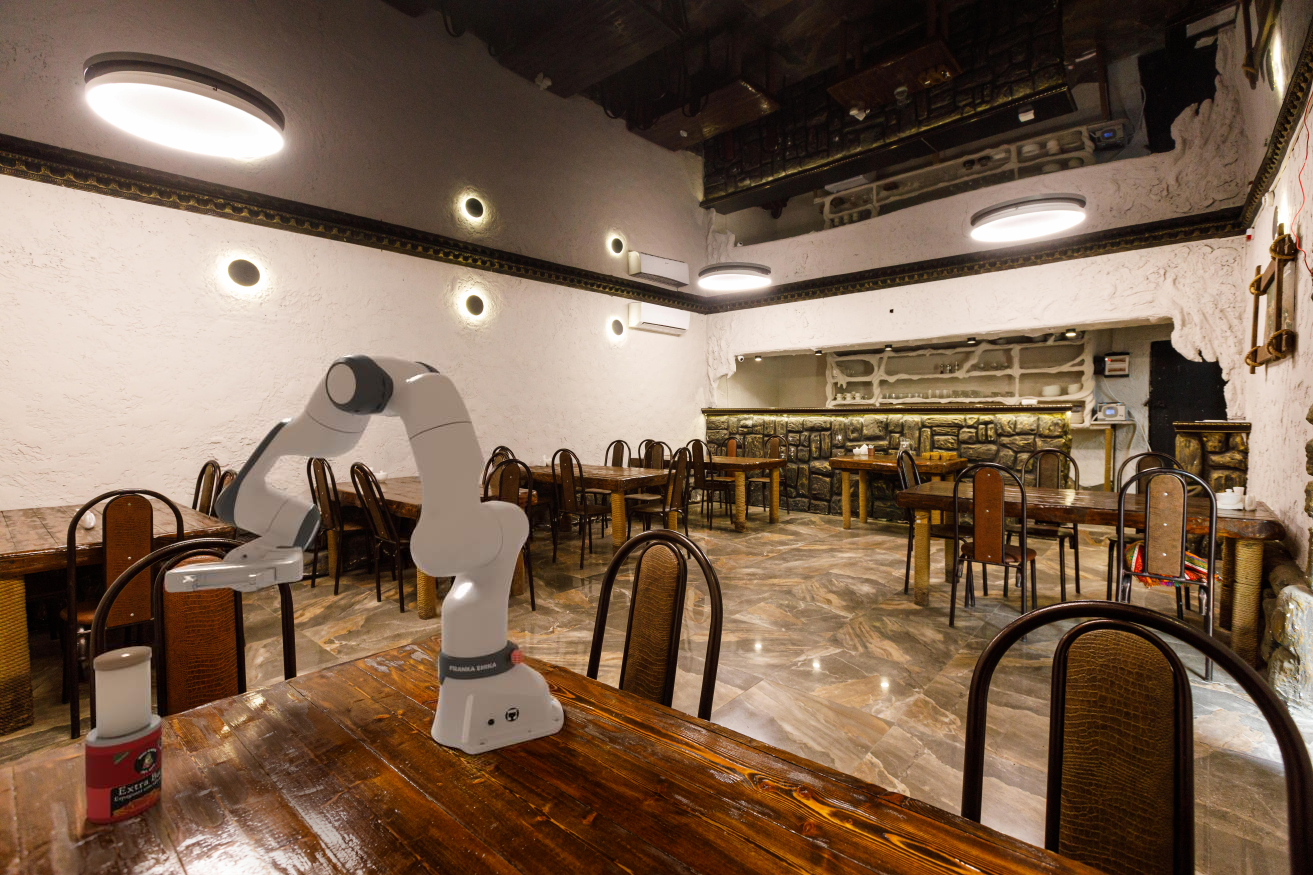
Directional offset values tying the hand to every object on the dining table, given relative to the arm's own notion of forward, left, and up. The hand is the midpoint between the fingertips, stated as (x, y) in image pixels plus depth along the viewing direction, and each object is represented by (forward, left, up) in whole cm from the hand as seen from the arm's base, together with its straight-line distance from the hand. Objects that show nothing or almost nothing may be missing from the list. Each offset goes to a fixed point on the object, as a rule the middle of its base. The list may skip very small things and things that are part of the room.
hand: (221, 583), depth 96 cm
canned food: (+5, +17, -26) cm, 32 cm away
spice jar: (+5, +17, -15) cm, 23 cm away
